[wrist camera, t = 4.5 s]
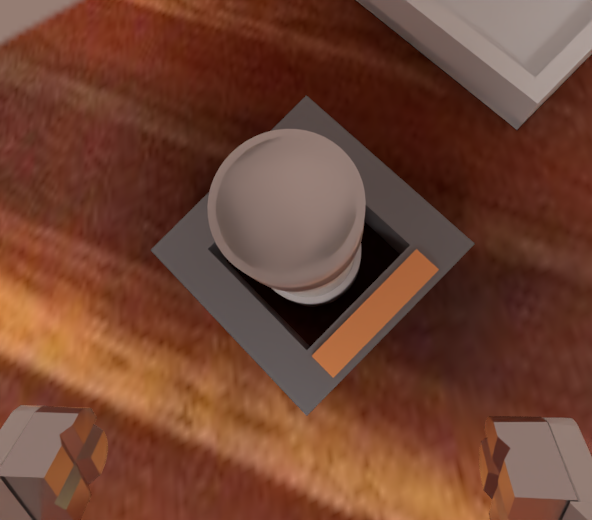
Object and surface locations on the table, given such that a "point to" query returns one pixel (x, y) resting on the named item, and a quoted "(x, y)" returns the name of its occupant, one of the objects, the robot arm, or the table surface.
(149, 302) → the table surface
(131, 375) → the table surface
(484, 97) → the tray
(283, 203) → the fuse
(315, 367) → the block
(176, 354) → the table surface
